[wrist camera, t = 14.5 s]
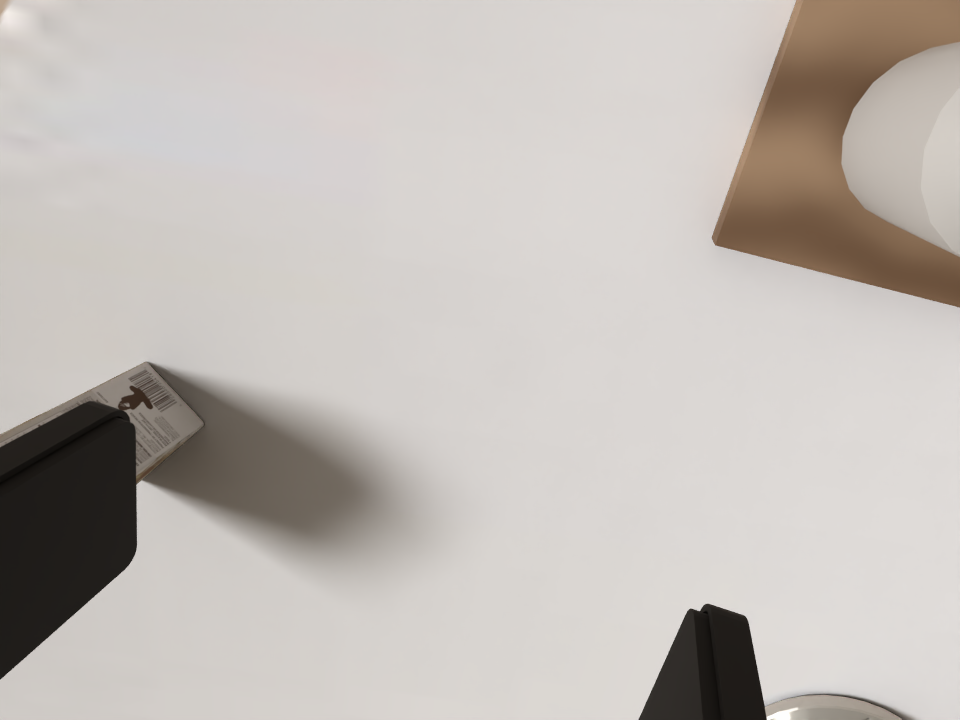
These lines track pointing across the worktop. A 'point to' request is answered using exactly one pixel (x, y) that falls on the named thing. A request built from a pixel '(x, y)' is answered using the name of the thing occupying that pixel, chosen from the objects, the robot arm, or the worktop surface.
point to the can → (910, 147)
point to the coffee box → (134, 415)
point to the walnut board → (833, 149)
